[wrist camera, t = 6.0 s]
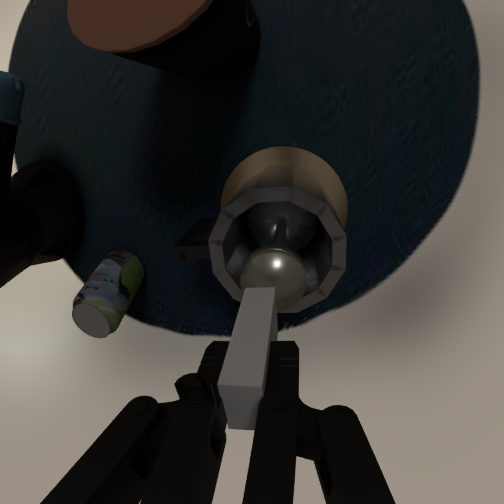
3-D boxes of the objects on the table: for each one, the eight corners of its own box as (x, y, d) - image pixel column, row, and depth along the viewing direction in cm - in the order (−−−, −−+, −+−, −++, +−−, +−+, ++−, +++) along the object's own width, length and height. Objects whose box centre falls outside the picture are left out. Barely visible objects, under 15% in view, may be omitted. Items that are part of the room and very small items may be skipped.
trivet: (229, 268, 38) (228, 270, 37) (215, 151, 32) (213, 152, 32) (345, 265, 35) (346, 267, 35) (345, 144, 30) (346, 144, 30)
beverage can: (123, 236, 38) (69, 278, 27) (162, 275, 40) (120, 328, 29) (102, 263, 40) (52, 307, 29) (138, 299, 42) (96, 352, 31)
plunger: (252, 251, 32) (226, 326, 20) (246, 189, 30) (212, 234, 18) (316, 249, 31) (326, 326, 19) (314, 185, 29) (327, 229, 17)
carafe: (214, 255, 37) (181, 311, 26) (203, 171, 33) (158, 196, 22) (329, 252, 34) (342, 311, 24) (328, 163, 31) (346, 184, 20)
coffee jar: (282, 48, 27) (266, -27, 11) (200, 102, 30) (107, 88, 14) (227, -15, 24) (170, -103, 8) (151, 38, 28) (48, -5, 11)
